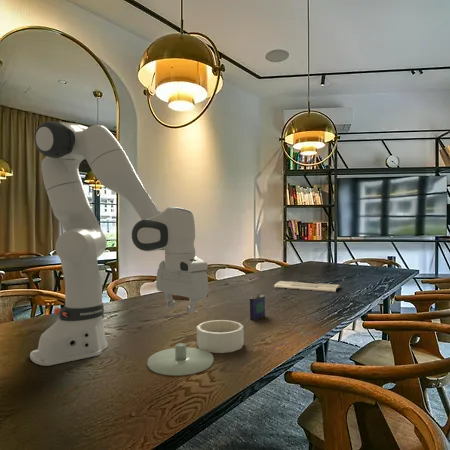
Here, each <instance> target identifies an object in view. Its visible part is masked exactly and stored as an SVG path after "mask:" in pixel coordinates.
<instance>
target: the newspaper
mask: <svg viewBox="0 0 450 450" xmlns="http://www.w3.org/2000/svg"><path fill="white" fill-rule="evenodd" d="M340 287H341V285H340V284H336V283H335V284H334V283H333V284H331V283H321V282H320V283H317V282H302V281H301V282H300V281H290V280H289V281H287V280H286V281H285V280H279V281H277V282H276V283H274V285H273V288H274V289H284V288H287V289H288V290H297V289H299V291H311V290H312V291H314V292H323V293H325V292H327V293H337V291H336V290H337V289H340Z"/></svg>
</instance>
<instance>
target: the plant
mask: <svg viewBox="0 0 450 450" xmlns="http://www.w3.org/2000/svg"><path fill="white" fill-rule="evenodd" d="M208 296H209V294H208V295H207V296H206V297H208ZM172 298H177V299H176V300H181V299H183V300H182V301H189V300H188V299H189V297H184V296H180V295H175V294H173V295H172Z"/></svg>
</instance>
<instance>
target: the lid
mask: <svg viewBox="0 0 450 450" xmlns="http://www.w3.org/2000/svg"><path fill="white" fill-rule="evenodd" d="M146 364H147V368H148V369H149V370H150V371H152V372H153V373H156V374H160V375H164V376H173V377H174V376H179V377H180V376H189V375H193V374H197V373H198V374H199V373H200V372H201V373H202V372H203V371H205V370H208V369H210V367H212V366H213V364H214V355H213V354H212V352H208V351H206V350H203V349H199V348H198V347H187V344H186V343H183V342H180V343H176V344H175V345H174V348H173V347H172V348H167V349H163V350H159V351H158V352H155V353H153V354H152V355H150V356H149V357H148V358H147V363H146Z"/></svg>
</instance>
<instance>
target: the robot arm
mask: <svg viewBox="0 0 450 450" xmlns="http://www.w3.org/2000/svg"><path fill="white" fill-rule="evenodd" d="M33 138H34V144H35V147H36V149H37V150H38V152H39V153H40V154H42V155H43V156H45V157H44V158H43V159H42V161H41V165H40V166H41V174H42V179H43V184H44V188H45V192H46V194H47V197H48V200H49V203H50V206H51V207H50V208H51V209H52V213H53V215H54V217H55V218H56V219H57V220H58V222H59V223H60V226H61V227H62V229H63V230H64V232H63V233H62V234H60V235H59V236H58V238H57V239H56V242H55V247H54V248H55V253H56V254H57V256H58V258H59V260H60V263H61V268H62V269H61V270H62V274H63V278H64V289H65V290H64V291H65V292H64V293H65V295H64V296H65V298H64V300H65V305H64V306H63V307H62V308H60V307H55V308H54V309H53V313H54V315H56V316H57V315H58V316H59V317H58V320H57V321H55V322H54V323H53V324H52V325H50V327H48V328H47V329H46V330H45V331H44V332H42V333H41V335H40V337H39V340H38V347H37V349H35V350H34V349H33V350H32V351H31V352H30V354H29V360H30V361H32V362H33V363H34V364H36V365H40V366H45V367H47V366H48V367H50V366H53V365H58V364H62V363H63V364H64V363H67V362H71V361H72V362H74V361H78V360H81V359H88V358H91V357H97V356H100V355H101V354H102V352H103V351H104V350H106V349H107V347H108V346H109V344H108V341H107V337H106V333H105V327H104V317H105V316H104V315H105V308H104V307H105V306H104V302H103V278H102V276H101V274H100V269H99V268H100V267H99V264H98V263H99V262H98V258H99V257H101V255H103V254H104V252H105V250H106V248H107V245H108V241H107V238H106V236H105V234H104V232H103V230H102V229H101V228H102V227H101V226H100V223H99V221H98V219H97V217H96V215H95V213H94V211H93V210H92V207H91V204H90V201H89V199H88V196H87V193H86V190H85V187H84V183H83V181H82V178H81V175H80V171H79V167H80V165H87V164H88V165H89V166H88V167H89V168H90V169H91V171H92V173H93V174H94V177H95V178H96V179H97V180H98V182H99V183H100V184H101V185H103V187H105V188H106V189H107V190H110V191H112V192H114V193H116V194H118V195H120V196H121V197H123V199H124V198H125V200H127V202H129V203H130V205H131V206H132V207H133V209H134V211H135V212H136V214H137V215H138V217H139V218H140V220H139V221H137V222H136V223H135V224H134V226H133V227H132V230H131V239H132V240H131V241H132V243H133V245H134V246H135V247H136V248H137V249H139V250H141V251H142V252H143V251H144V252H157V251H164V260H162V261H160V263H159V264H158V268H157V272H156V279H155V280H156V281H155V283H156V284H155V285H156V286H155V287H156V290H157V291H158V292H162V293H164V298H165V300H166V307H167V308H170V309H172V308H175V307H176V303H175V300H174V299H173V298H172V295H173V294H175V295H180V296H184V297H189V300H188V301H189V305H188V306H187V307H186V312H187V313H189V314H195V312H196V305H197V303H198V301H199V300H203V299H206V298H207V297H208V296H209V278H208V277H209V276H208V273H207V270H208V268H209V266H208V262H206V261H205V260H203V259H201V258H200V257H198V256H197V255H196V248H195V239H196V227H195V226H196V225H195V223H196V222H195V217H194V213H193V212H192V211H191V210H189V209H188V208H183V207H179V206H167V208H165V209H164V210H163V211H161V210H160V209H159V207H158V206H157V205H156V203H155V202H154V200H153V199H152V197H151V196H150V194H149V193H148V191H147V190H146V188H145V187H144V185H143V183H142V182H141V180H140V178H139V176H138V174H137V172H136V170H135V168H134V167H133V164H132V163H131V161H130V159H129V157H128V155H127V154H126V152H125V150H124V149H123V147H122V146H121V143H120V142H119V141H118V140H117V138H116V137H115V136H114V135H113V134H112V132H111V131H110V130H109V129H108V128H107V127H105V126H104V125H98V124H96V125H95V124H94V125H91V126H89V125H84V124H83V125H82V124H79V123H74V122H59V121H55V120H54V121H53V120H52V121H46V122H42V123H40V124H39V125H38V126H37V127H36V129H35V132H34V137H33ZM207 295H208V296H207Z"/></svg>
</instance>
